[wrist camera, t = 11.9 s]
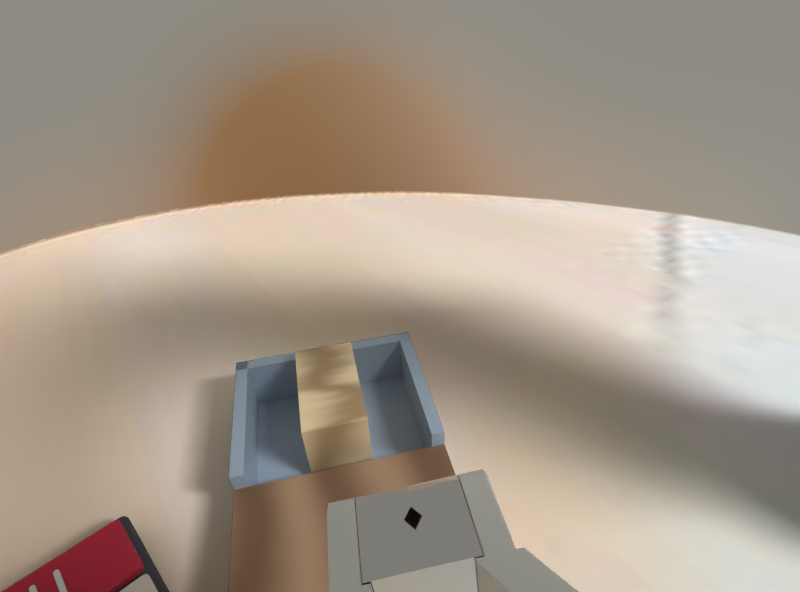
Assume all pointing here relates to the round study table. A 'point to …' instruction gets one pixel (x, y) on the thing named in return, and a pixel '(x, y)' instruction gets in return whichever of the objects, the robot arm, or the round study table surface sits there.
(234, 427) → the tray
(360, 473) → the walnut plate
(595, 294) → the round study table surface
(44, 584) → the calculator
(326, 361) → the oak block
